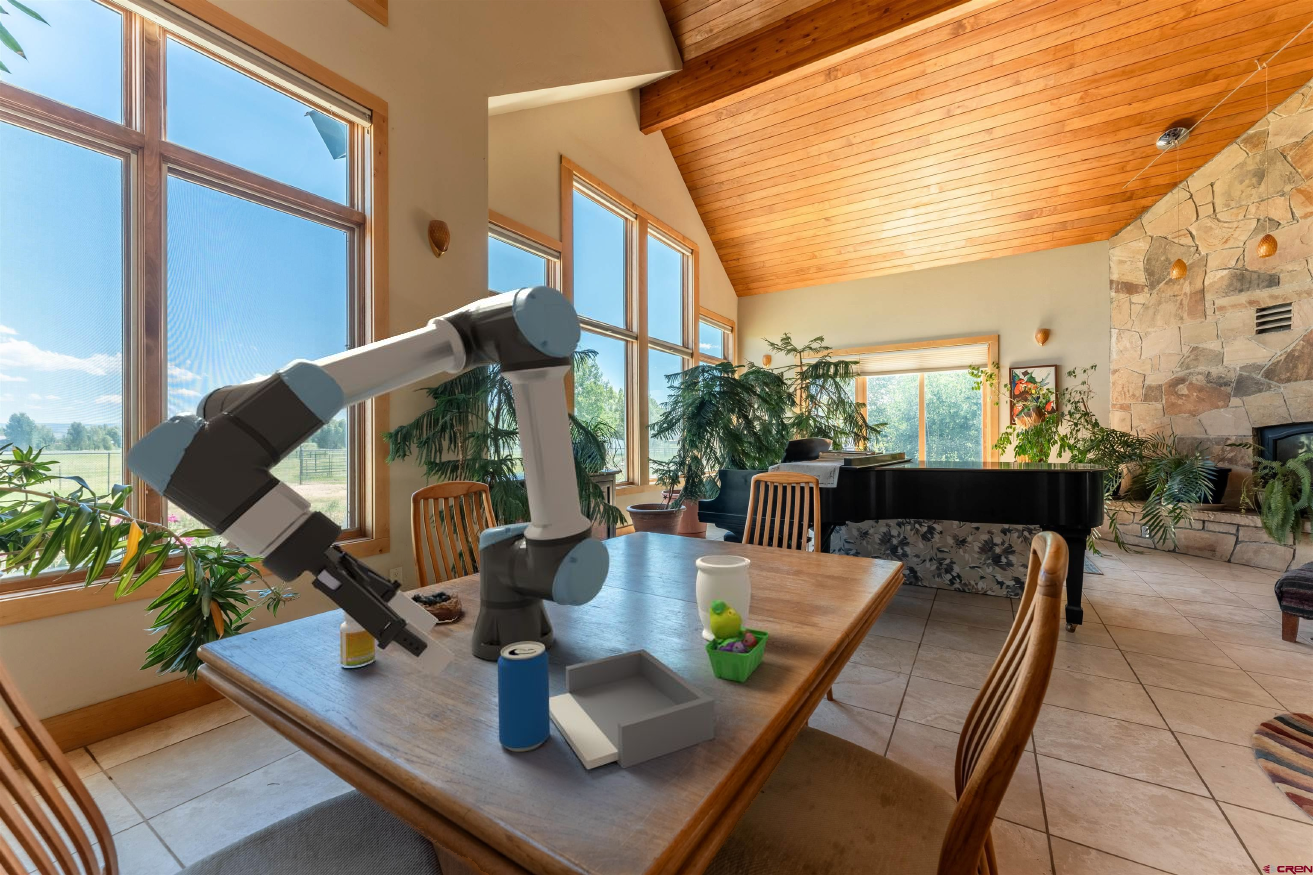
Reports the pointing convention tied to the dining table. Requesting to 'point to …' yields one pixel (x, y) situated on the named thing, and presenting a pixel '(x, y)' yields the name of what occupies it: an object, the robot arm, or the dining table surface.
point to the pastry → (440, 605)
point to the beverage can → (523, 696)
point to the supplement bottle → (355, 643)
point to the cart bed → (630, 710)
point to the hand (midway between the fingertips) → (437, 645)
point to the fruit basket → (733, 644)
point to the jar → (722, 587)
